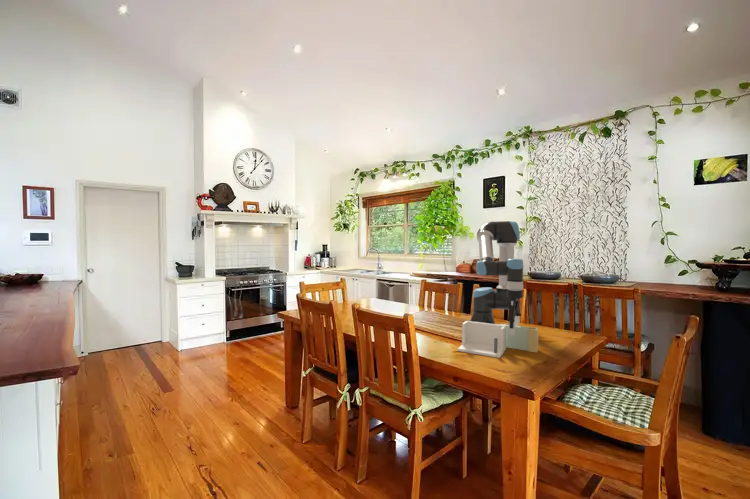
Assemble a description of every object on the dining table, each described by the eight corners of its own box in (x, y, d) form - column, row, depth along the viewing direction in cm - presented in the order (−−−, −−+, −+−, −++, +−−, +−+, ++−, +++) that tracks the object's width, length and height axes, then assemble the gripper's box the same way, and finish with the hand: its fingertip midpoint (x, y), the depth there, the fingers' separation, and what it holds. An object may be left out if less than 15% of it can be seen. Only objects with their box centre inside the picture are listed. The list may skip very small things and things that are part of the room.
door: (500, 344, 191) (500, 323, 191) (538, 349, 182) (538, 327, 182) (498, 346, 187) (498, 325, 186) (536, 352, 178) (537, 330, 177)
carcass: (466, 343, 193) (466, 320, 192) (505, 349, 183) (506, 325, 182) (457, 350, 181) (457, 326, 180) (499, 357, 171) (500, 332, 170)
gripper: (511, 286, 197) (511, 325, 197) (501, 292, 175) (501, 336, 176) (526, 287, 193) (525, 327, 194) (518, 293, 171) (517, 338, 172)
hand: (514, 331), depth 185 cm, fingers open, 13 cm apart
